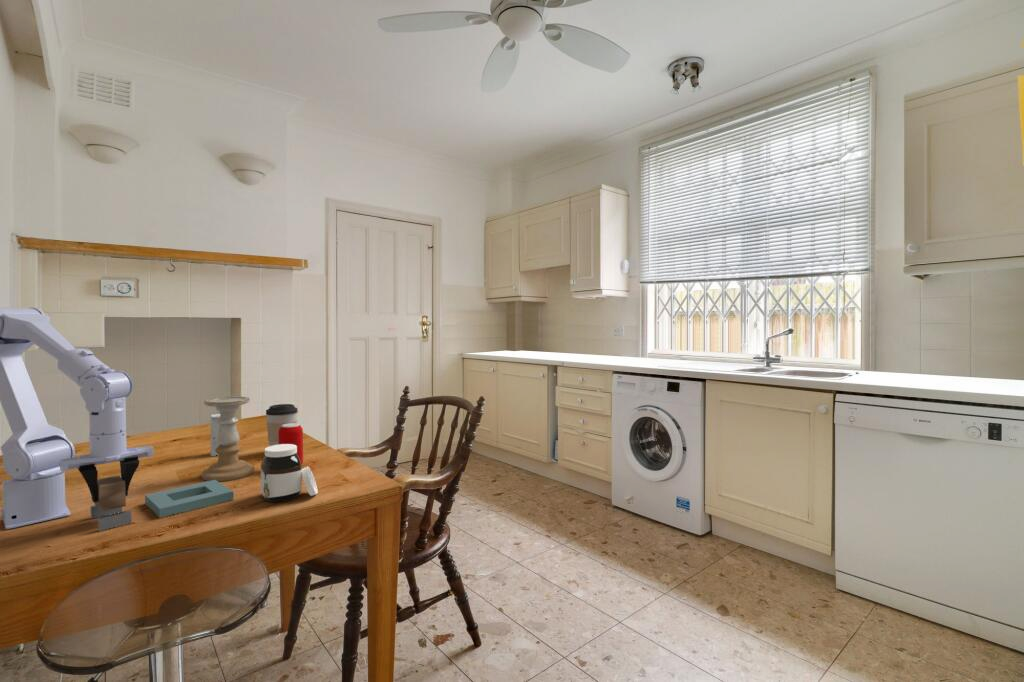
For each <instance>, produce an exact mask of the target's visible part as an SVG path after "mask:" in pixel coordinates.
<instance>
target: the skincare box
mask: <svg viewBox="0 0 1024 682" xmlns="http://www.w3.org/2000/svg"><path fill="white" fill-rule="evenodd" d="M219 418H220V413H215V414H210V457H214V456H215V457H216V455H217V456H219V454H217V453H216V452H215V450H216V448H217V447H218V446H219V444H217V442H216V438H217V435H218V431H219V424H218V423H217V420H218V419H219Z"/></svg>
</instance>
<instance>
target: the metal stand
mask: <svg viewBox="0 0 1024 682" xmlns="http://www.w3.org/2000/svg"><path fill="white" fill-rule="evenodd" d="M89 511H90V513H89V515H90V516H89V517H91V518H90V520H94V519H93V518H95V519H97V523H98V524H97V527H98V532H102V531H101V530H103V531H106V530H105V529H107V530H110V529H109V528H111V529H114V528H113V527H115V528H117V527H116V526H119V527H121V526H120V525H123V526H125V525H124V524H127V525H129V524H128V523H131V524H132V510H131V509H129V510H125V511H123V507H120V508H115V509H111V510H106V511H102V512H100V511H99V509H98V508H97V507H96V505H95V504H94V505H90V506H89ZM118 512H119V513H118ZM114 513H115V514H114ZM110 514H111V515H110ZM97 517H98V518H97Z"/></svg>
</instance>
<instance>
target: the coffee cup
mask: <svg viewBox="0 0 1024 682" xmlns="http://www.w3.org/2000/svg"><path fill="white" fill-rule="evenodd" d="M298 412H299V411H298V408H297V407H295V405H294V404H290V403H282V404H281V403H279V404H273V405H270V406H269V408H268V409H266V411H265V415H266V431H267V441H268V447H269V446H273V445H279V441H278V431H279V429H280V427H281V426H282V425H284V424H289V423H298V419H297V418H298Z"/></svg>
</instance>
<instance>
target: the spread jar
mask: <svg viewBox="0 0 1024 682" xmlns="http://www.w3.org/2000/svg"><path fill="white" fill-rule="evenodd" d="M296 453H297V446H296V445H293V444H279V445H273V446H269V445H268V446H267V447H265V448H264V457H263V459H262V460H261V464H260V489H261V495H262V497H263V499H264V501H267V502H268V501H269V502H270V503H283V502H287V501H290V499H291V500H294V499H295V498H296V497H298V496H299V495H300V494H301V493H302V489H303V488H302V487H303V484H304V486H305V489H306V491H307V493H308V495H310V497H313V496H316V495H317V494H318V492H319V489H318V486H317V482H316V479H315V477H314V474H313V472H312V470H311V468H310V467H309V466H305V467H302V465H301V462H300V459H299V457H298V455H297V454H296ZM282 501H283V502H282ZM269 502H268V503H269Z"/></svg>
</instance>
